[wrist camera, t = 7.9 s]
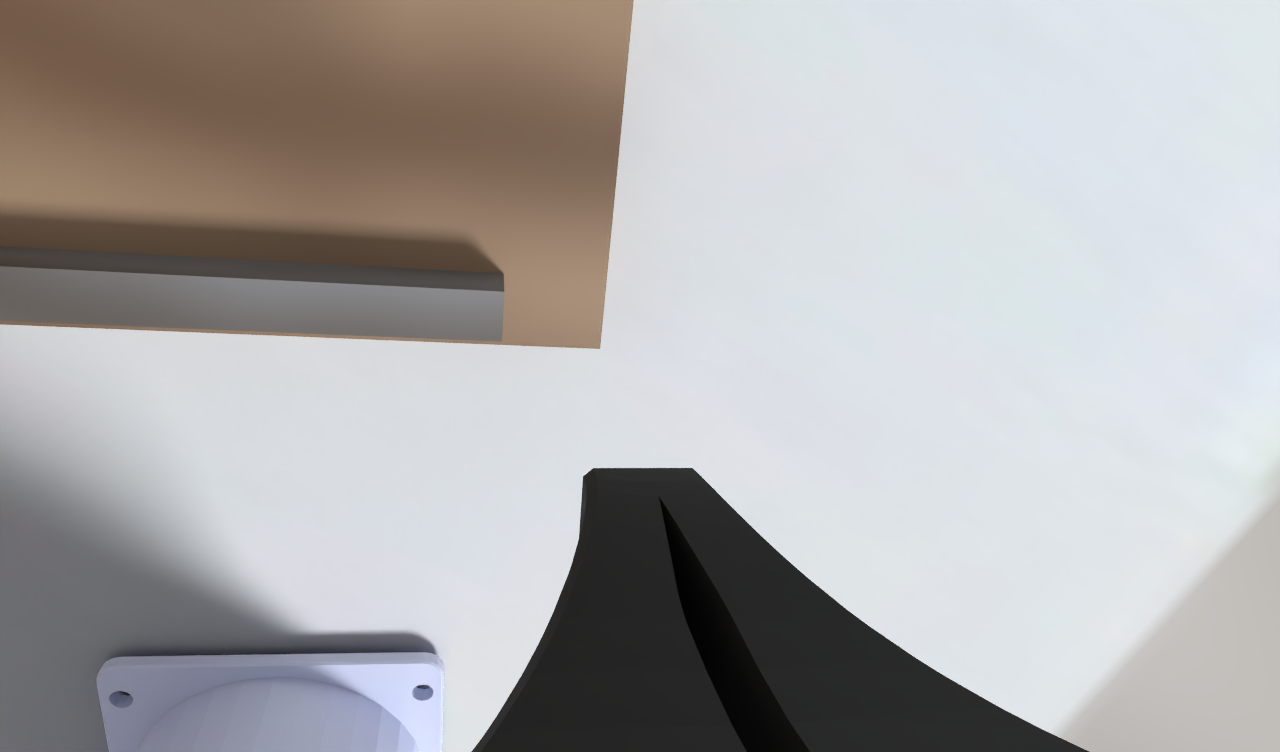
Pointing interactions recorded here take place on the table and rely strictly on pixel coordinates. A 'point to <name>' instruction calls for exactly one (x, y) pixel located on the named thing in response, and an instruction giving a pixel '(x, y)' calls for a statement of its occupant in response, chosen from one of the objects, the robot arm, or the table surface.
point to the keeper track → (312, 166)
